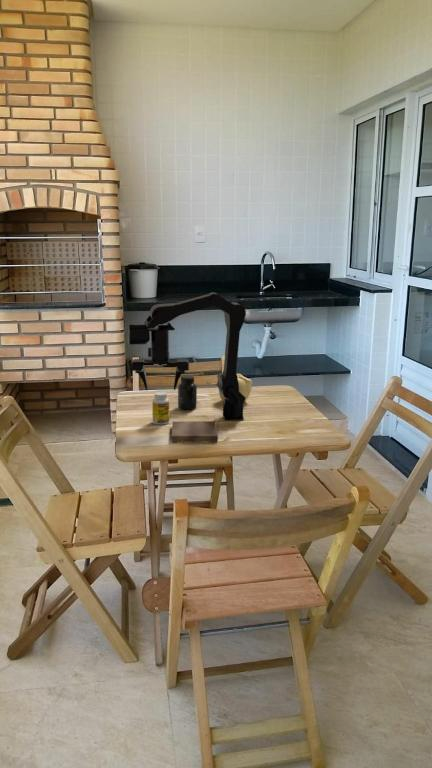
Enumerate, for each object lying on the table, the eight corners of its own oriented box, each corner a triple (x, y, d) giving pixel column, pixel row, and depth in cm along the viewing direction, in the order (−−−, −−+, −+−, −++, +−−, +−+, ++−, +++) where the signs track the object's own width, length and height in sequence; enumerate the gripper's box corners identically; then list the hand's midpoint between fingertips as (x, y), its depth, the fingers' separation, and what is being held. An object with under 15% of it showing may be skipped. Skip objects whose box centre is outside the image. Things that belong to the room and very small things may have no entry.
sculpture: (255, 400, 225) (256, 373, 222) (239, 408, 215) (240, 379, 213) (229, 395, 231) (230, 369, 228) (213, 403, 221) (213, 375, 219)
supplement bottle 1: (157, 426, 195) (157, 396, 192) (149, 421, 199) (149, 392, 197) (172, 423, 198) (172, 394, 195) (164, 418, 202) (164, 390, 200)
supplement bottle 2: (174, 409, 213) (174, 377, 210) (182, 404, 219) (182, 373, 216) (192, 412, 210) (192, 379, 207) (199, 406, 216) (199, 375, 213)
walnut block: (214, 426, 195) (215, 421, 194) (217, 441, 181) (217, 435, 181) (172, 427, 194) (172, 421, 194) (171, 442, 181) (171, 436, 180)
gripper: (188, 339, 200) (188, 383, 204) (133, 339, 199) (134, 383, 203) (188, 345, 189) (188, 392, 193) (130, 345, 188) (131, 392, 192)
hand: (160, 389), depth 196 cm, fingers open, 9 cm apart
